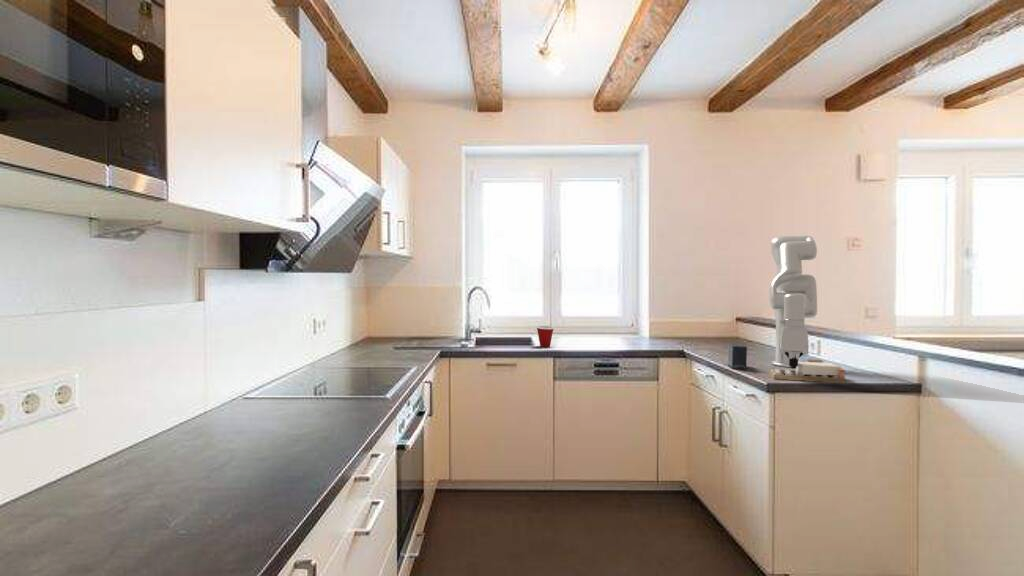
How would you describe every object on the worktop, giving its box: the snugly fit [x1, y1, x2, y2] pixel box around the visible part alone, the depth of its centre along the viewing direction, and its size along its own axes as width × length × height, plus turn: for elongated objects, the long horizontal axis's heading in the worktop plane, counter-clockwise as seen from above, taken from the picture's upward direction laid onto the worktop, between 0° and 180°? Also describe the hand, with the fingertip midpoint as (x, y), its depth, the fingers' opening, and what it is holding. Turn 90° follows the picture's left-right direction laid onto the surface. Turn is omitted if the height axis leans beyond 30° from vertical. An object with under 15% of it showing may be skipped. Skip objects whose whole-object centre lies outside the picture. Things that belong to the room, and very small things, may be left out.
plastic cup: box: [535, 324, 555, 348], centre depth 303 cm, size 11×11×12 cm
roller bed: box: [769, 364, 846, 384], centre depth 211 cm, size 12×25×5 cm, turn 69°
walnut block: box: [806, 358, 824, 363], centre depth 218 cm, size 5×5×6 cm
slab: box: [795, 361, 839, 375], centre depth 210 cm, size 8×13×4 cm, turn 78°
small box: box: [727, 342, 748, 370], centre depth 235 cm, size 11×6×10 cm, turn 168°
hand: (793, 368), depth 212 cm, fingers closed
